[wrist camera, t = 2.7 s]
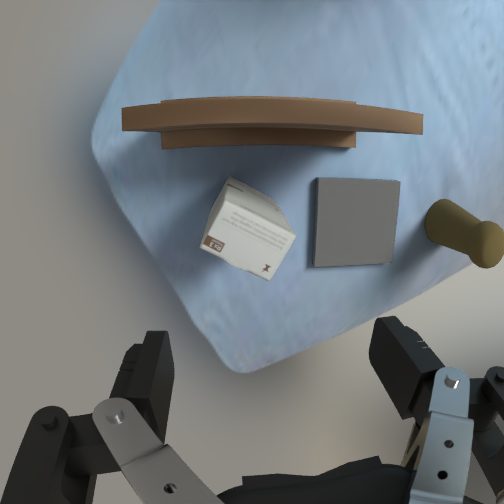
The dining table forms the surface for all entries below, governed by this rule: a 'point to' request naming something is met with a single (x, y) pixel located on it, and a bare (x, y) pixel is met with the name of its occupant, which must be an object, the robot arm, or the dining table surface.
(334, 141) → the walnut screen
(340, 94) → the dining table surface
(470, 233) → the olive stepped cylinder
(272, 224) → the skincare box
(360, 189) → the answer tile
